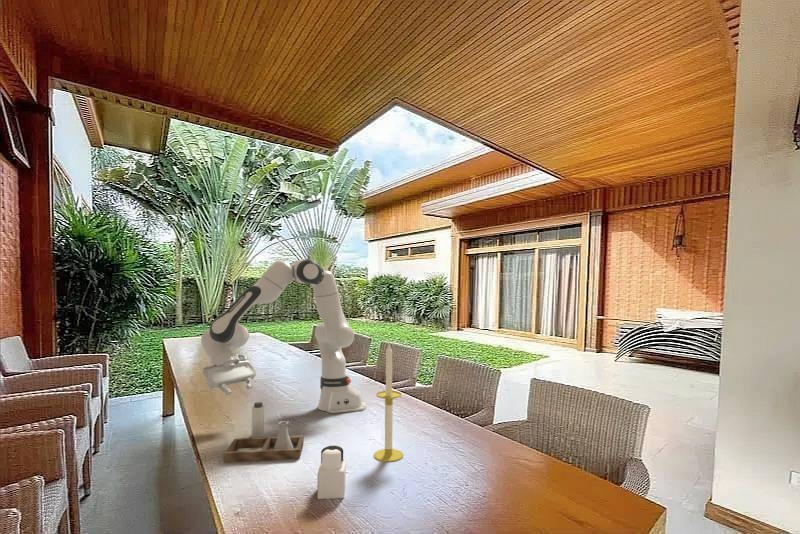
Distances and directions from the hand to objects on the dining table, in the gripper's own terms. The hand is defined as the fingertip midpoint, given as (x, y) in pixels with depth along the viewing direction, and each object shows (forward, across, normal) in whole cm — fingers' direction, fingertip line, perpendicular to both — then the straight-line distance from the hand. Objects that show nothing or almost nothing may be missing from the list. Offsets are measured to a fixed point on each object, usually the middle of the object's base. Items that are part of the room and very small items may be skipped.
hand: (239, 391), depth 160 cm
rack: (+29, -9, -7) cm, 31 cm away
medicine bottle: (+54, -17, -33) cm, 66 cm away
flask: (+32, -5, -10) cm, 34 cm away
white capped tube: (+18, 0, +3) cm, 19 cm away
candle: (+54, +12, -33) cm, 65 cm away
